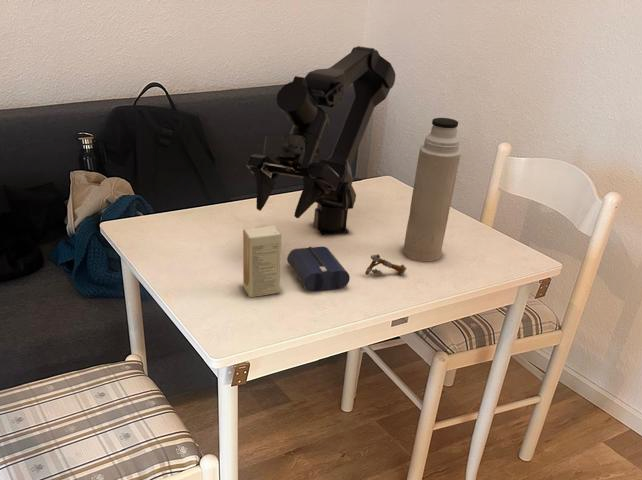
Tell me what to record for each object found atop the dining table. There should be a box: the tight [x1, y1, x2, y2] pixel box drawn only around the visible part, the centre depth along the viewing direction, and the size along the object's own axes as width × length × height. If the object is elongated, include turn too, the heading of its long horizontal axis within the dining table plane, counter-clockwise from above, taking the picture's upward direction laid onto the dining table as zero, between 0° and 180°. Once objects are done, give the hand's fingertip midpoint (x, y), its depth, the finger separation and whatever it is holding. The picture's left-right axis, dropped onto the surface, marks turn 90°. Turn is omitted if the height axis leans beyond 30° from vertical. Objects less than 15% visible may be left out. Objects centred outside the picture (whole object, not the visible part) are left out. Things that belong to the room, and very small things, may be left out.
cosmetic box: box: [242, 224, 282, 298], centre depth 125 cm, size 6×4×12 cm
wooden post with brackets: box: [364, 253, 408, 277], centre depth 135 cm, size 2×8×4 cm, turn 102°
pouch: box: [286, 245, 351, 293], centre depth 132 cm, size 9×11×4 cm
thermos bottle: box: [402, 117, 462, 262], centre depth 137 cm, size 8×8×28 cm
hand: (276, 213), depth 128 cm, fingers open, 9 cm apart
